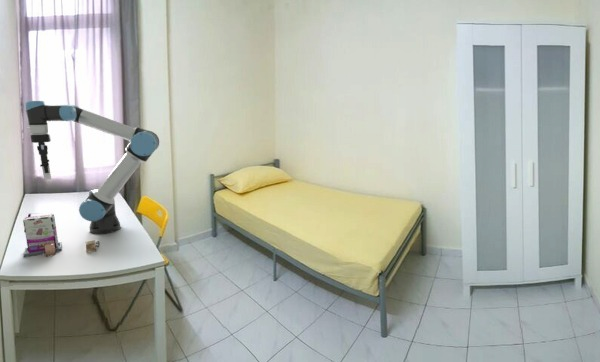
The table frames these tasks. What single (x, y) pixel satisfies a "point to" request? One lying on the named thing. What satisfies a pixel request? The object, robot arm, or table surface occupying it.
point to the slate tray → (41, 251)
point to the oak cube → (90, 246)
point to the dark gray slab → (97, 243)
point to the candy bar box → (40, 232)
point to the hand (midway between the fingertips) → (47, 177)
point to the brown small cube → (50, 249)
